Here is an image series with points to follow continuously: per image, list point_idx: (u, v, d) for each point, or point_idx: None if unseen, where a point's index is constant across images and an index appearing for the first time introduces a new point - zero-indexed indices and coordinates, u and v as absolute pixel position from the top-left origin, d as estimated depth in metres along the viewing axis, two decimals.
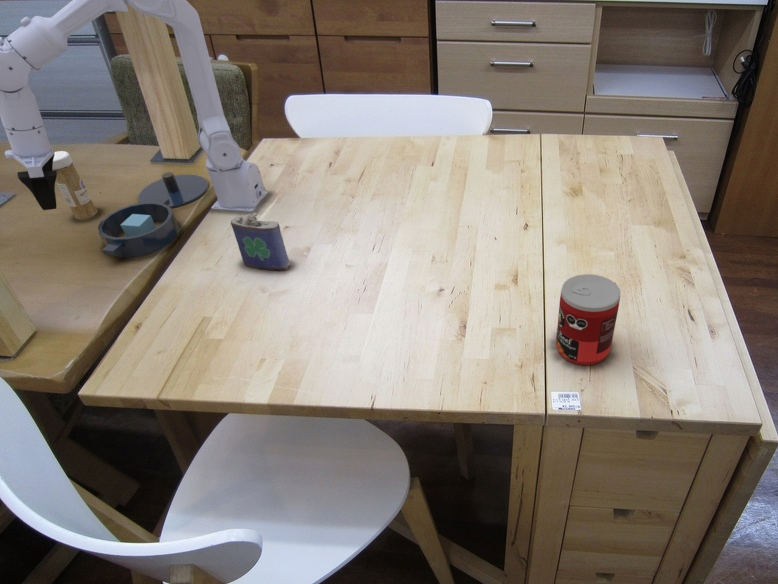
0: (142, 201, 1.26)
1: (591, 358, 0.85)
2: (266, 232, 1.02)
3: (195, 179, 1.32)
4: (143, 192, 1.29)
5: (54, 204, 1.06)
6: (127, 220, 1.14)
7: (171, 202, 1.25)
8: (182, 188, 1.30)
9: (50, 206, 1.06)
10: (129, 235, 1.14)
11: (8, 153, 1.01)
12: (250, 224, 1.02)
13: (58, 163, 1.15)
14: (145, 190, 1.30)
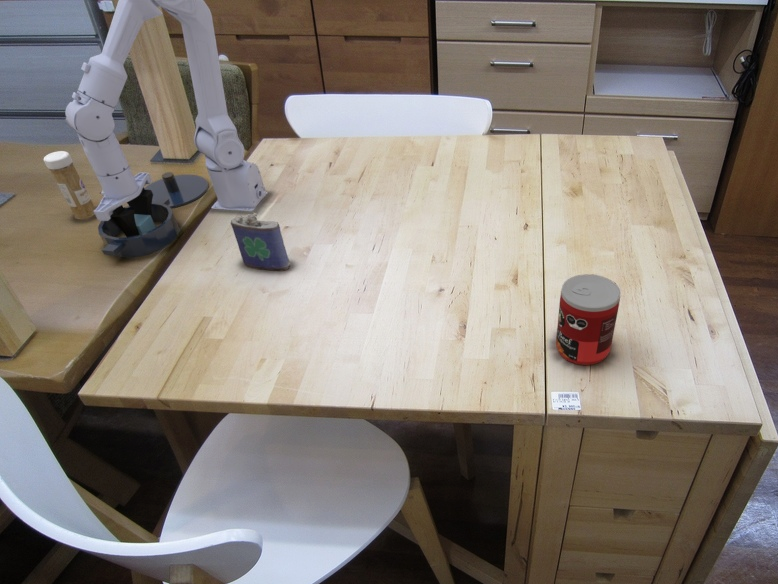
0: None
1: (591, 358, 0.85)
2: (266, 232, 1.02)
3: (195, 179, 1.32)
4: None
5: None
6: None
7: (171, 202, 1.25)
8: (182, 188, 1.30)
9: None
10: None
11: (104, 191, 1.10)
12: (250, 224, 1.02)
13: (58, 163, 1.15)
14: None
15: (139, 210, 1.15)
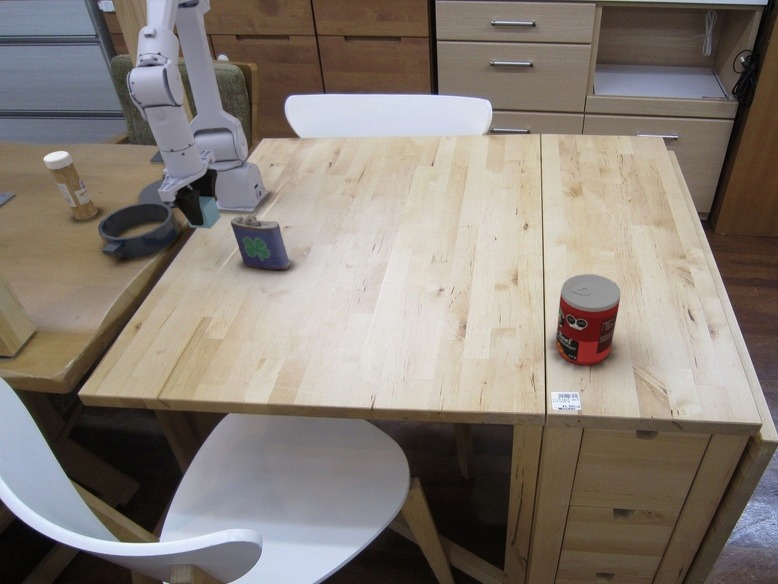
0: (142, 201, 1.26)
1: (591, 358, 0.85)
2: (266, 232, 1.02)
3: None
4: (143, 192, 1.29)
5: (199, 221, 1.03)
6: None
7: (171, 202, 1.25)
8: None
9: (196, 222, 1.03)
10: None
11: (166, 169, 1.00)
12: (250, 224, 1.02)
13: (58, 163, 1.15)
14: (145, 190, 1.30)
15: (202, 191, 1.04)
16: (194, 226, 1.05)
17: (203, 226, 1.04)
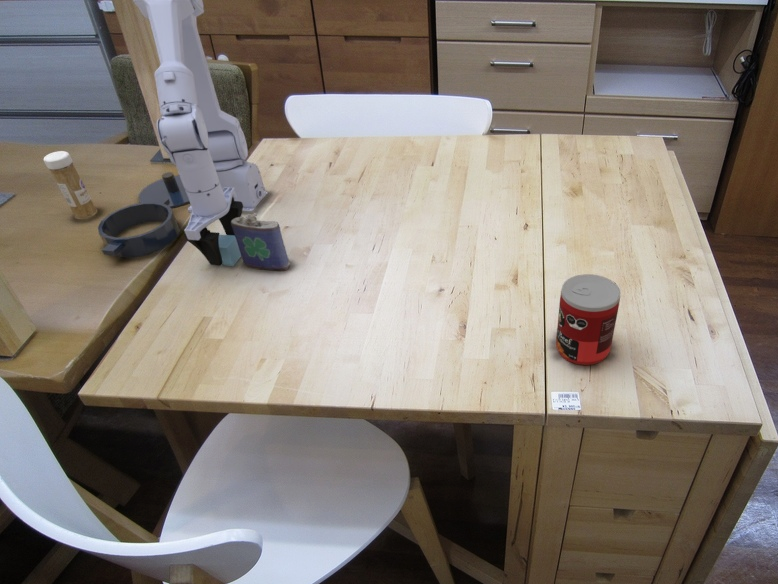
0: (142, 201, 1.26)
1: (591, 358, 0.85)
2: (266, 232, 1.02)
3: None
4: (143, 192, 1.29)
5: (218, 261, 1.06)
6: None
7: (171, 202, 1.25)
8: (182, 188, 1.30)
9: (215, 262, 1.06)
10: None
11: (190, 208, 1.04)
12: (250, 224, 1.02)
13: (58, 163, 1.15)
14: (145, 190, 1.30)
15: (228, 222, 1.10)
16: None
17: (227, 263, 1.09)
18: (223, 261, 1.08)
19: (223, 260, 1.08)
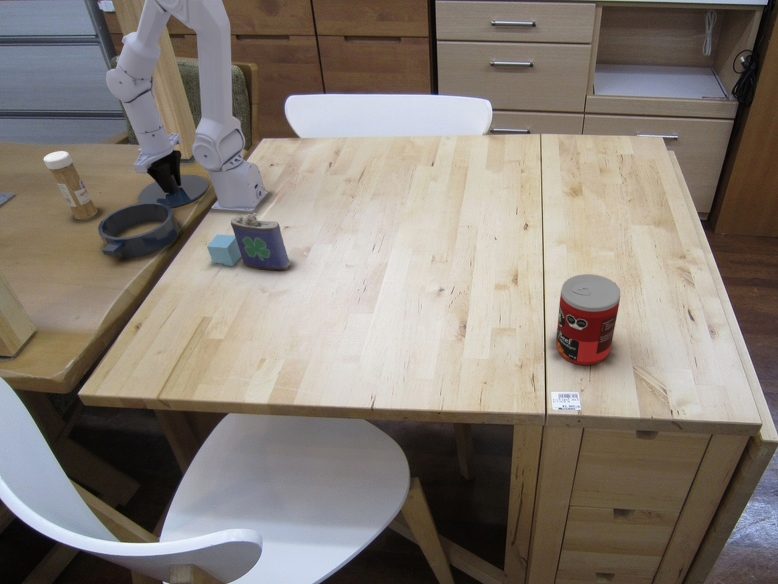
0: (142, 201, 1.26)
1: (591, 358, 0.85)
2: (266, 232, 1.02)
3: (195, 179, 1.32)
4: (143, 192, 1.29)
5: (170, 189, 1.27)
6: (213, 241, 1.08)
7: (171, 202, 1.25)
8: (182, 188, 1.30)
9: (168, 190, 1.27)
10: (215, 257, 1.08)
11: (140, 148, 1.23)
12: (250, 224, 1.02)
13: (58, 163, 1.15)
14: (145, 190, 1.30)
15: None
16: None
17: (227, 263, 1.09)
18: (223, 261, 1.08)
19: (223, 260, 1.08)
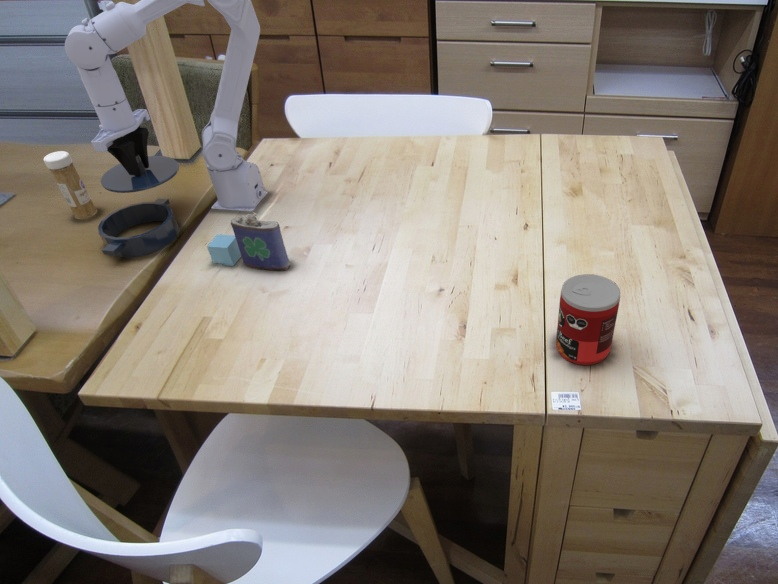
0: (104, 184, 1.13)
1: (591, 358, 0.85)
2: (266, 232, 1.02)
3: (166, 161, 1.19)
4: (106, 174, 1.16)
5: (136, 171, 1.14)
6: (213, 241, 1.08)
7: (136, 185, 1.12)
8: (150, 170, 1.17)
9: (133, 172, 1.14)
10: (215, 257, 1.08)
11: (101, 125, 1.10)
12: (250, 224, 1.02)
13: (58, 163, 1.15)
14: (109, 172, 1.17)
15: (134, 148, 1.14)
16: None
17: (227, 263, 1.09)
18: (223, 261, 1.08)
19: (223, 260, 1.08)
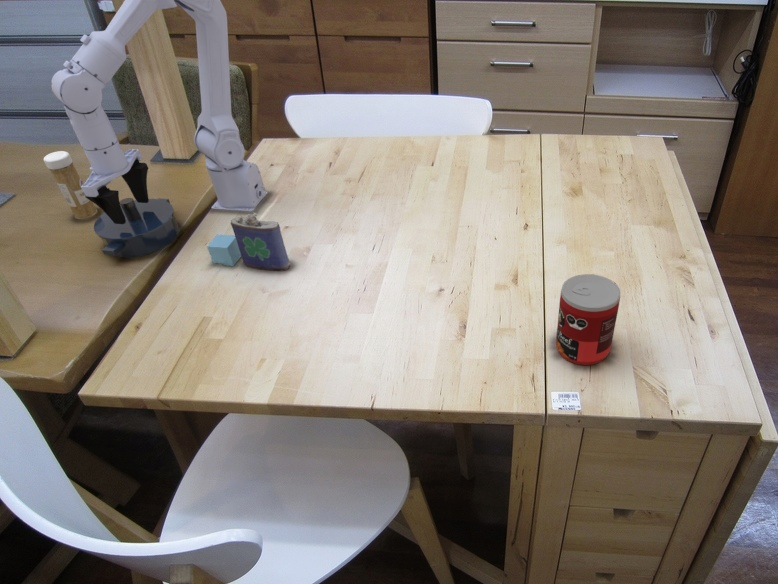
0: (97, 231, 1.10)
1: (591, 358, 0.85)
2: (266, 232, 1.02)
3: (160, 204, 1.17)
4: (99, 220, 1.13)
5: (121, 220, 1.09)
6: (213, 241, 1.08)
7: (130, 232, 1.09)
8: (144, 215, 1.14)
9: (118, 221, 1.09)
10: (215, 257, 1.08)
11: (92, 167, 1.07)
12: (250, 224, 1.02)
13: (58, 163, 1.15)
14: (102, 218, 1.14)
15: (134, 184, 1.13)
16: None
17: (227, 263, 1.09)
18: (223, 261, 1.08)
19: (223, 260, 1.08)
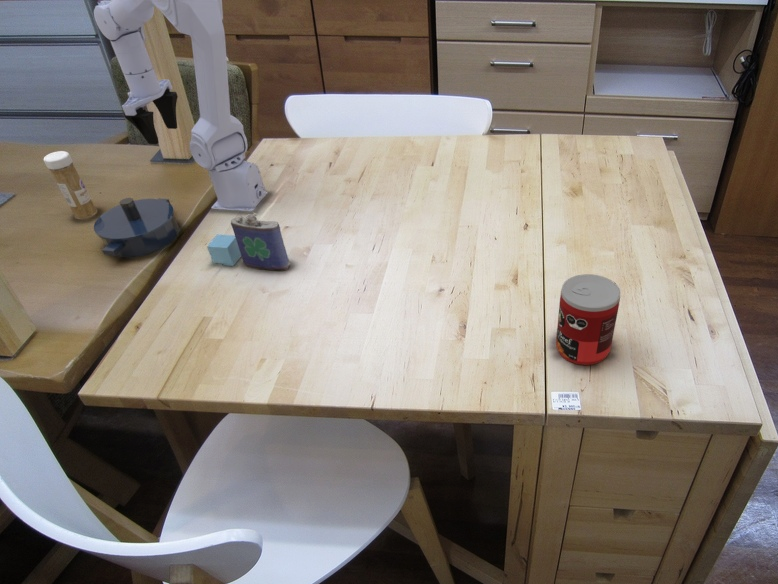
0: (97, 231, 1.10)
1: (591, 358, 0.85)
2: (266, 233, 1.02)
3: (160, 204, 1.17)
4: (99, 220, 1.13)
5: (154, 140, 1.24)
6: (213, 241, 1.08)
7: (130, 232, 1.09)
8: (144, 215, 1.14)
9: (152, 141, 1.25)
10: (215, 257, 1.08)
11: (130, 92, 1.22)
12: (250, 224, 1.02)
13: (58, 163, 1.15)
14: (102, 218, 1.14)
15: (165, 110, 1.28)
16: None
17: (227, 263, 1.09)
18: (223, 261, 1.08)
19: (223, 260, 1.08)
